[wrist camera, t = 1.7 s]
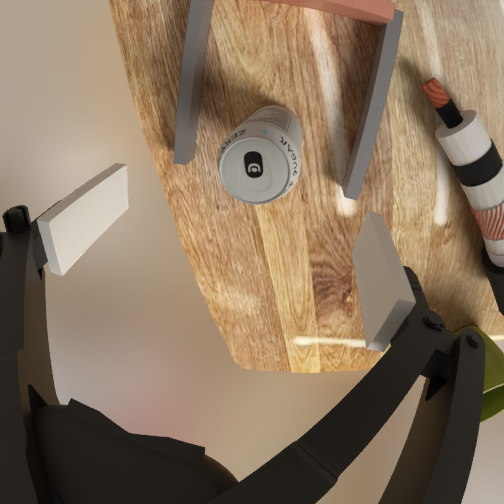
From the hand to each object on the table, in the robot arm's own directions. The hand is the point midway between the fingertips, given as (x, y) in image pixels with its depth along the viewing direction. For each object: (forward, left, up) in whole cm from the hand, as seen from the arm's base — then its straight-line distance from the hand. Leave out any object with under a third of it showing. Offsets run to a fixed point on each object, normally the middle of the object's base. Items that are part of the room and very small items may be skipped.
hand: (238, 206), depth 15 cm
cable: (0, +29, -21) cm, 35 cm away
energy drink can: (0, 0, -20) cm, 20 cm away
